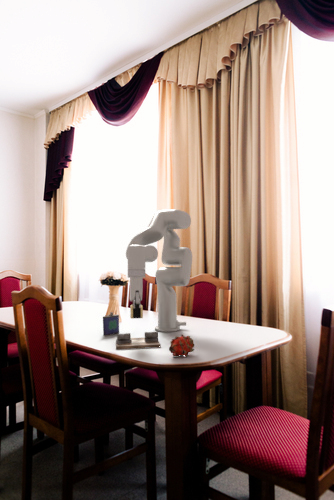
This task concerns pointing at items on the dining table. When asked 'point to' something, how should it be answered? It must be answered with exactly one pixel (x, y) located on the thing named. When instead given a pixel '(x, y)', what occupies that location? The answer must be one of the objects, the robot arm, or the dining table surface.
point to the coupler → (132, 311)
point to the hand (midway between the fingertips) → (136, 316)
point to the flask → (110, 324)
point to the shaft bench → (137, 341)
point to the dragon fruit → (181, 345)
